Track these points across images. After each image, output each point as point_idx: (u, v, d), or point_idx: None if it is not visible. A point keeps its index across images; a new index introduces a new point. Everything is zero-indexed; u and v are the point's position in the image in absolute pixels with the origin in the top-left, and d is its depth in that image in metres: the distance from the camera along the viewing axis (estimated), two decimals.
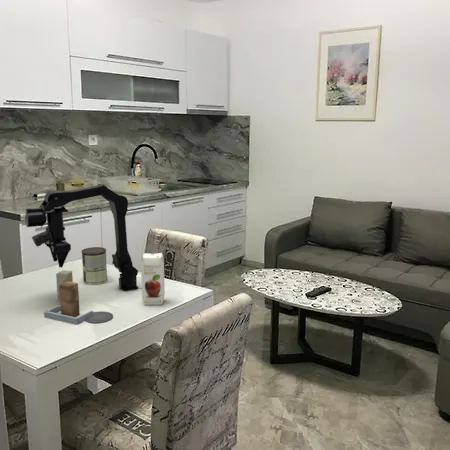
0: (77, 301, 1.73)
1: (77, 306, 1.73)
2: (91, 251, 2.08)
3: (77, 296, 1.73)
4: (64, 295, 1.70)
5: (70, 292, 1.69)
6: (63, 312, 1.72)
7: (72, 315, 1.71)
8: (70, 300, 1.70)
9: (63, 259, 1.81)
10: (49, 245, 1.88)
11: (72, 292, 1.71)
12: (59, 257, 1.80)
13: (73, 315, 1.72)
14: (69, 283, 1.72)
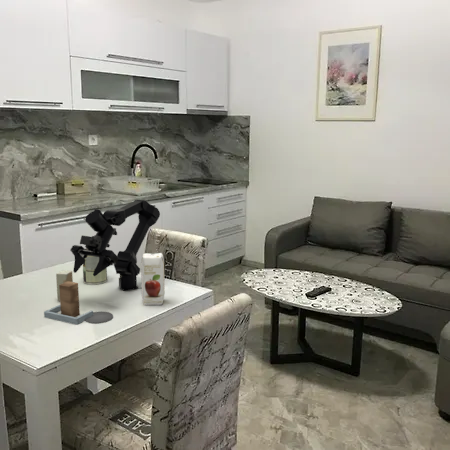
0: (77, 301, 1.73)
1: (77, 306, 1.73)
2: None
3: (77, 296, 1.73)
4: (64, 295, 1.70)
5: (70, 292, 1.69)
6: (63, 312, 1.72)
7: (72, 315, 1.71)
8: (70, 300, 1.70)
9: (101, 269, 1.78)
10: (78, 254, 1.82)
11: (72, 292, 1.71)
12: (100, 265, 1.77)
13: (73, 315, 1.72)
14: (69, 283, 1.72)
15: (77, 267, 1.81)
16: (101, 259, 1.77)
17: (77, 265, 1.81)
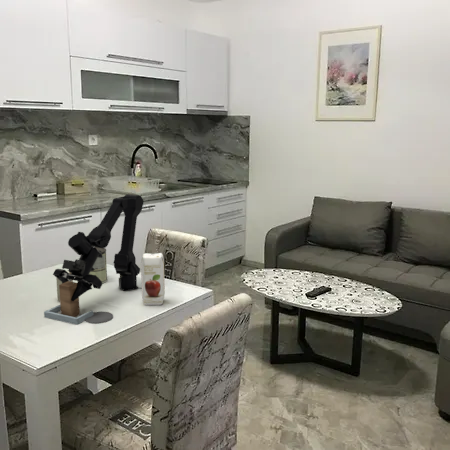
0: (77, 301, 1.73)
1: (77, 306, 1.73)
2: None
3: None
4: (64, 295, 1.70)
5: (70, 292, 1.69)
6: (63, 312, 1.72)
7: (72, 315, 1.71)
8: (70, 300, 1.70)
9: (79, 294, 1.72)
10: (66, 280, 1.74)
11: (72, 292, 1.71)
12: (79, 290, 1.71)
13: (73, 315, 1.72)
14: (69, 283, 1.72)
15: None
16: (79, 283, 1.71)
17: None
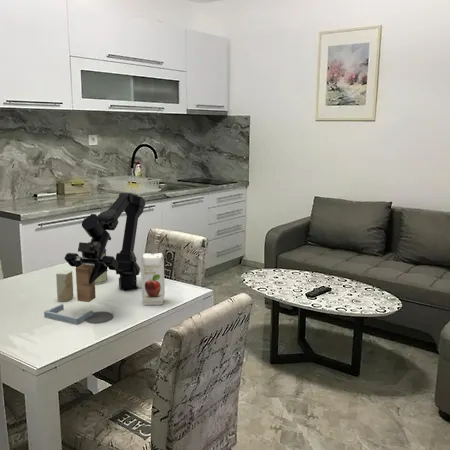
0: (93, 284, 1.71)
1: (93, 288, 1.71)
2: None
3: None
4: (81, 278, 1.67)
5: (88, 275, 1.67)
6: (80, 296, 1.69)
7: (90, 298, 1.69)
8: (88, 283, 1.68)
9: (96, 276, 1.70)
10: (80, 263, 1.71)
11: (90, 275, 1.68)
12: (96, 272, 1.69)
13: (91, 298, 1.70)
14: (85, 266, 1.70)
15: None
16: (97, 266, 1.69)
17: None
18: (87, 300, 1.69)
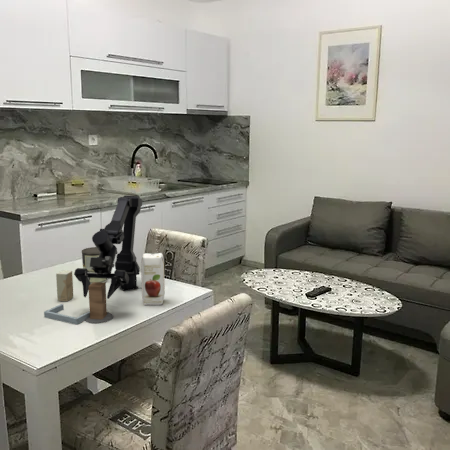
0: (105, 301, 1.72)
1: (105, 305, 1.72)
2: (91, 251, 2.08)
3: (105, 296, 1.72)
4: (94, 296, 1.68)
5: (101, 292, 1.68)
6: (93, 313, 1.70)
7: (103, 315, 1.70)
8: (101, 300, 1.69)
9: (113, 291, 1.71)
10: (86, 278, 1.72)
11: (103, 292, 1.70)
12: (113, 286, 1.70)
13: (103, 315, 1.71)
14: (96, 283, 1.71)
15: (86, 291, 1.71)
16: (114, 280, 1.70)
17: (86, 289, 1.71)
18: (100, 317, 1.70)
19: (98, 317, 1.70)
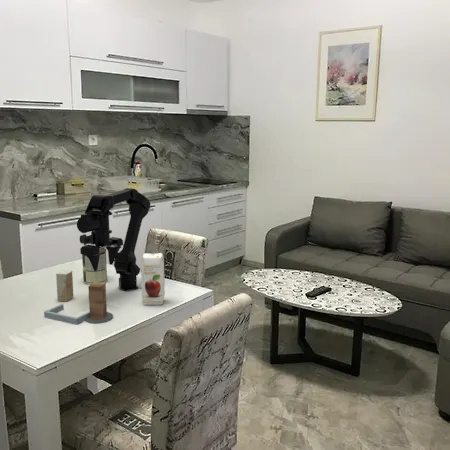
0: (105, 301, 1.72)
1: (105, 306, 1.72)
2: None
3: (105, 296, 1.72)
4: (94, 296, 1.68)
5: (101, 293, 1.68)
6: (93, 313, 1.70)
7: (103, 315, 1.70)
8: (101, 300, 1.69)
9: (94, 263, 1.82)
10: (107, 247, 1.92)
11: (103, 292, 1.70)
12: (91, 260, 1.82)
13: (103, 315, 1.71)
14: (96, 283, 1.71)
15: (110, 259, 1.91)
16: None
17: (110, 257, 1.91)
18: (100, 317, 1.70)
19: (98, 317, 1.70)
